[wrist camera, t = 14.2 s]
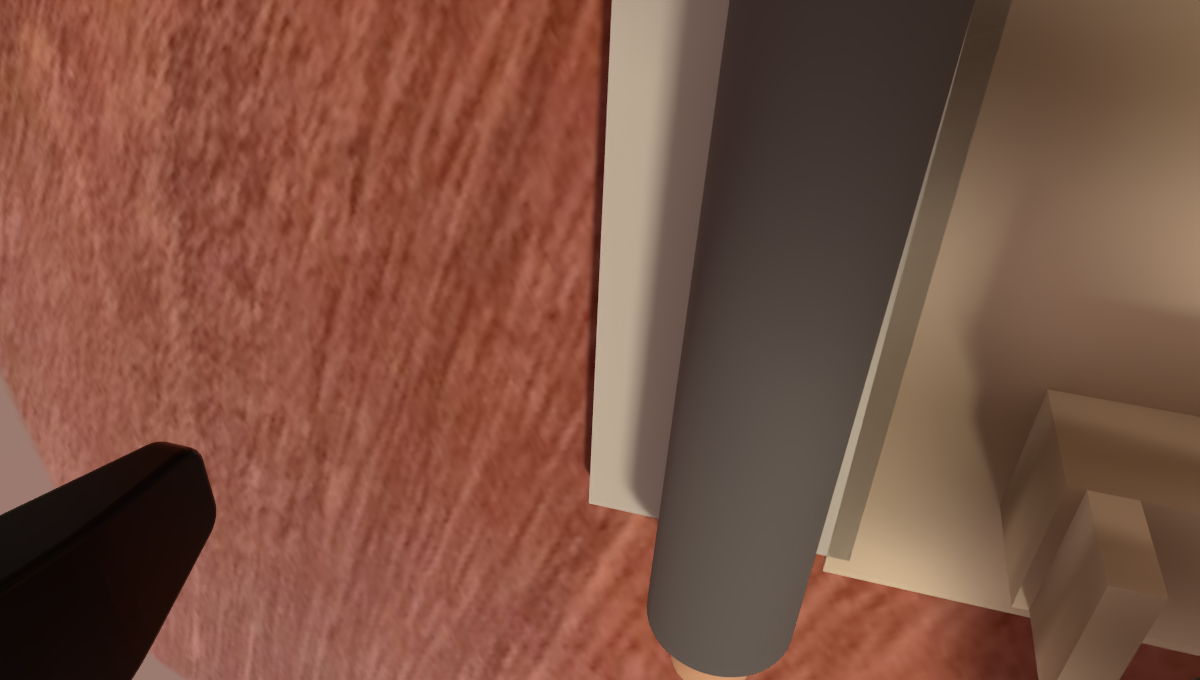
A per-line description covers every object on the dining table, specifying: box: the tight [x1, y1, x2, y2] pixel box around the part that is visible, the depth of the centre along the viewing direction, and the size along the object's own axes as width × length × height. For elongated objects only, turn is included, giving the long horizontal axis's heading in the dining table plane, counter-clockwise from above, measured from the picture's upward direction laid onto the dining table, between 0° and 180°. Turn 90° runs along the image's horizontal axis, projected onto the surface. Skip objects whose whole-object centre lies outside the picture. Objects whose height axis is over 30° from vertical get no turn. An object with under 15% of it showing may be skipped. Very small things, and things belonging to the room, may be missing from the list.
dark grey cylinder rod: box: [647, 0, 975, 680], centre depth 16 cm, size 19×3×3 cm, turn 176°
